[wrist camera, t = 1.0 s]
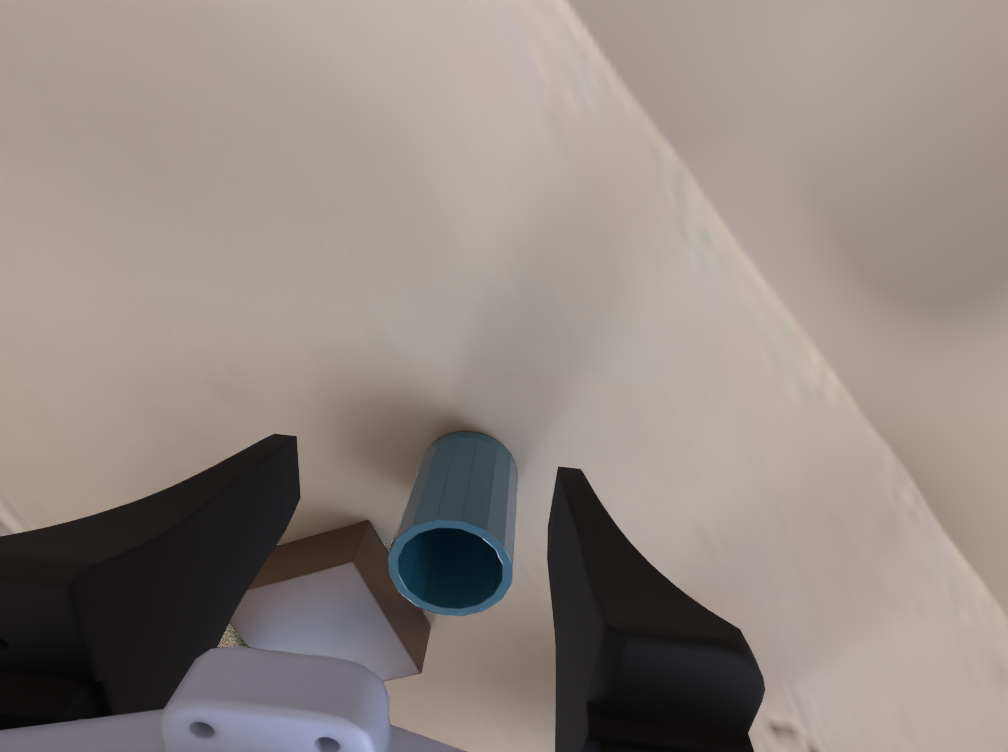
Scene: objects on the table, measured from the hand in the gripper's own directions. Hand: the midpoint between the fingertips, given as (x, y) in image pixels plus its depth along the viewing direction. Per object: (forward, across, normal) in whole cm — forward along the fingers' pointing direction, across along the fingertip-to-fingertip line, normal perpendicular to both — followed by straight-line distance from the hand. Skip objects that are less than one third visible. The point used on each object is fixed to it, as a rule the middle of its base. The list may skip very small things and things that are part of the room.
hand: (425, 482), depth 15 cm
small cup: (+10, 0, +7) cm, 12 cm away
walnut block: (+10, +6, +16) cm, 20 cm away
